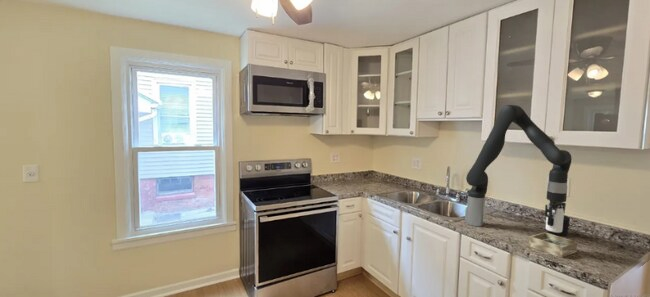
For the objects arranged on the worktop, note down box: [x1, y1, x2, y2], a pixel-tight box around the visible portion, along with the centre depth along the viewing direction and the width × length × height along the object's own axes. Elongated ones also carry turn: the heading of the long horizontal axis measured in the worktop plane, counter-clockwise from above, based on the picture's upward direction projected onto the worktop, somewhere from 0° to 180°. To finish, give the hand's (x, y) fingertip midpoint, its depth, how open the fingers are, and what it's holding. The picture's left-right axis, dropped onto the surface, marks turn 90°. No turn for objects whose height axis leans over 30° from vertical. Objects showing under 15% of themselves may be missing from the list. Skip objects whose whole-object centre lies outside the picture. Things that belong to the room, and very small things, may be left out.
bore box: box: [528, 231, 578, 259], centre depth 141 cm, size 14×14×5 cm
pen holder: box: [547, 215, 570, 237], centre depth 162 cm, size 9×9×10 cm
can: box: [545, 207, 565, 233], centre depth 140 cm, size 6×6×12 cm
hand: (554, 224), depth 140 cm, fingers closed on can, 6 cm apart
